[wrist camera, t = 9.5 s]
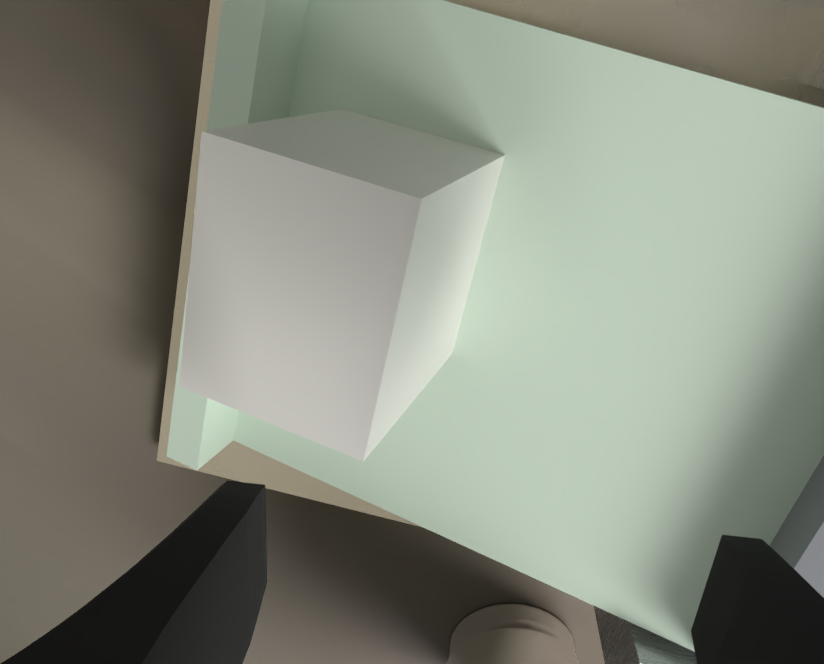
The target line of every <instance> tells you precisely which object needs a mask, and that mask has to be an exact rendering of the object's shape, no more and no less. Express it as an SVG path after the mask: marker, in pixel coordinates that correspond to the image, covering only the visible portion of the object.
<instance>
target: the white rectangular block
mask: <svg viewBox="0 0 824 664" xmlns="http://www.w3.org/2000/svg"><path fill="white" fill-rule="evenodd" d="M504 157H505V155H503V154H499V153H496V152H492V151H489V150H485V149H482V148H478V147H475V146H471V145H468V144H464V143H461V142H457V141H454V140H450V139H447V138H443V137H440V136H436V135H433V134H429V133H426V132H422V131H419V130H415V129H412V128H408V127H405V126H401V125H397V124H394V123H390V122H387V121H383V120H380V119H376V118H373V117H369V116H366V115H362V114H359V113H355V112H352V111H348V110H345V109H338V110H332V111H326V112H320V113H313V114H307V115H301V116H294V117H288V118H282V119H275V120H269V121H263V122H256V123H250V124H244V125H237V126H231V127H225V128H218V129H212V130H206V131H202V133H201V145H200V156H199V168H198V179H197V191H196V202H195V214H194V225H193V237H192V248H191V260H190V271H189V283H188V294H187V306H186V317H185V329H184V340H183V352H182V363H181V375H180V387H182V388H184V389H187V390H189V391H192V392H194V393H197V394H199V395H202V396H204V397H207V398H209V399H211V400H214V401H216V402H219V403H221V404H224V405H226V406H229V407H231V408H233V409H236V410H238V411H241V412H243V413H246V414H248V415H251V416H253V417H256V418H258V419H260V420H263V421H265V422H268V423H270V424H273V425H275V426H278V427H280V428H282V429H285V430H287V431H290V432H292V433H295V434H297V435H300V436H302V437H305V438H307V439H309V440H312V441H314V442H317V443H319V444H322V445H324V446H327V447H329V448H331V449H334V450H336V451H339V452H341V453H344V454H346V455H349V456H351V457H353V458H356V459H358V460H361V461H363V462H364V460H365V459H366V458H367V457H368V456H369V454H370V453H371V452H372V451H373V449H374V448H375V447H376V446H377V445H378V443H379V442H380V441H381V440H382V438H383V437H384V436H385V435H386V434H387V432H388V431H389V430H390V429H391V428H392V426H393V425H394V424H395V423H396V421H397V420H398V419H399V418H400V417H401V415H402V414H403V413H404V412H405V411H406V409H407V408H408V407H409V406H410V404H411V403H412V402H413V401H414V400H415V398H416V397H417V396H418V395H419V394H420V392H421V391H422V390H423V389H424V387H425V386H426V385H427V384H428V383H429V381H430V380H431V379H432V378H433V376H434V375H435V374H436V373H437V372H438V370H439V369H440V368H441V367H442V366H443V364H444V363H445V362H446V361H447V359H448V358H449V357H450V356H451V355H452V353H453V350H454V346H455V342H456V339H457V335H458V331H459V327H460V323H461V320H462V316H463V312H464V308H465V304H466V301H467V297H468V293H469V289H470V285H471V282H472V278H473V274H474V270H475V267H476V263H477V259H478V255H479V251H480V248H481V244H482V240H483V236H484V232H485V229H486V225H487V221H488V217H489V213H490V210H491V206H492V202H493V198H494V195H495V191H496V187H497V183H498V179H499V176H500V172H501V168H502V164H503V160H504Z"/></svg>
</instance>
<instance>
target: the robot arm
mask: <svg viewBox="0 0 824 664" xmlns="http://www.w3.org/2000/svg"><path fill="white" fill-rule="evenodd" d="M266 583H267V562H266V495H265V485H263V484H254V483H244V482H235V481H227V482H226V483H224V484H223V485H222V486H220V487H219V488H218V489H217V490H216V491H215V492H214V493H213V494H212V495H211V496H210V497H209V498H208V499H207V500H206V501H205V502H204V503H203V504H202V505H201V506H199V507H198V508H197V509H196V510H195V511H194V512H193V513H192V514H191V515H190V516H189V517H188V518H187V519H186V520H185V521H184V522H182V523H181V524H180V525H179V526H178V527H177V528H176V529H175V530H174V531H173V532H172V533H171V534H170V535H168V536H167V537H166V538H165V539H164V540H163V541H162V542H161V543H159V544H158V545H157V546H156V547H155V548H154V549H153V550H151V551H150V552H149V553H148V554H147V555H146V556H145V557H144V558H142V559H141V560H140V561H139V562H138V563H137V564H136V565H134V566H133V567H132V568H131V569H130V570H128V571H127V572H126V573H125V574H124V575H122V576H121V577H120V578H119V579H117V580H116V581H115V582H114V583H112V584H111V585H110V586H109V587H107V588H106V589H105V590H104V591H102V592H101V593H100V594H99V595H97V596H96V597H95V598H94V599H92V600H91V601H90V602H89V603H87V604H86V605H85V606H83V607H82V608H81V609H79V610H78V611H77V612H75V613H74V614H73V615H71V616H70V617H69V618H67V619H66V620H65V621H63V622H62V623H60V624H59V625H58V626H56V627H55V628H53V629H52V630H51V631H49V632H48V633H46V634H45V635H43V636H42V637H41V638H39V639H38V640H36V641H35V642H33V643H32V644H30V645H29V646H27V647H26V648H24V649H23V650H21V651H20V652H18V653H17V654H15V655H14V656H12V657H11V658H9V659H7V660H6V661H4V662H2V663H1V664H242V663H243V660H244V658H245V655H246V653H247V650H248V648H249V645H250V642H251V639H252V635H253V632H254V628H255V625H256V621H257V617H258V614H259V610H260V606H261V602H262V599H263V595H264V591H265V587H266ZM691 634H692V639H693V645H694V650H695V655H696V660H697V664H824V598H823V597H822V596H821V595H820V594H819V593H818V592H817V591H816V590H815V589H814V588H813V587H812V586H811V585H810V584H809V583H808V582H807V581H806V580H805V579H804V578H803V577H802V576H801V575H800V574H799V573H798V572H797V571H796V570H795V569H794V568H792V567H791V566H790V565H789V564H788V563H787V562H786V561H785V560H784V559H783V558H782V557H781V556H780V555H779V554H778V553H777V552H776V551H775V550H774V549H773V548H771V547H770V546H769V545H768V544H767V543H766V542H765V541H764V540H762V539H758V538H748V537H739V536H730V535H722V536H721V539H720V542H719V546H718V549H717V552H716V555H715V558H714V561H713V564H712V567H711V570H710V573H709V576H708V580H707V583H706V586H705V589H704V592H703V595H702V598H701V601H700V604H699V607H698V610H697V613H696V617H695V620H694V623H693V626H692V629H691Z"/></svg>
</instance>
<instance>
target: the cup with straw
mask: <svg viewBox="0 0 824 664" xmlns="http://www.w3.org/2000/svg"><path fill="white" fill-rule="evenodd" d="M449 652H450V657H449V659H448V661H447V664H580V662H579V660H578V658H577V657H576V656H575V643H574V640H573V638H572V635H571V633H570V632H569V630H568V629H567V627H566V626H565V625H564V624H563V623H562V622H561V621H560V620H559V619H558V618H556V617H555V616H553V615H552V614H550V613H548V612H546V611H544V610H541V609H539V608H536V607H532V606H528V605H523V604H498V605H493V606H488V607H485V608H483V609H480V610H477V611H475V612H473V613H472V614H470V615H469V616H467V617H466V618H465V619H463V620H462V621H461V622H460V623H459V624H458V626H457V627H456V628H455V630H454V631H453V634H452V636H451V639H450V647H449Z"/></svg>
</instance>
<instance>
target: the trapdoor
mask: <svg viewBox="0 0 824 664" xmlns="http://www.w3.org/2000/svg"><path fill="white" fill-rule="evenodd" d="M338 109H345V110H348V111H352V112H355V113H359V114H362V115H366V116H369V117H373V118H376V119H380V120H383V121H387V122H390V123H394V124H397V125H401V126H405V127H408V128H412V129H415V130H419V131H422V132H426V133H429V134H433V135H436V136H440V137H443V138H447V139H450V140H454V141H457V142H461V143H464V144H468V145H471V146H475V147H478V148H482V149H485V150H489V151H492V152H496V153H499V154H503V155H505V157H504V160H503V164H502V168H501V172H500V176H499V179H498V183H497V187H496V191H495V195H494V198H493V202H492V206H491V210H490V213H489V217H488V221H487V225H486V229H485V232H484V236H483V240H482V244H481V248H480V251H479V255H478V259H477V263H476V267H475V270H474V274H473V278H472V282H471V285H470V289H469V293H468V297H467V301H466V304H465V308H464V312H463V316H462V320H461V323H460V327H459V331H458V335H457V339H456V342H455V346H454V350H453V353H452V355H451V356H450V357H449V358H448V359H447V361H446V362H445V363H444V364H443V366H442V367H441V368H440V369H439V370H438V372H437V373H436V374H435V375H434V376H433V378H432V379H431V380H430V381H429V383H428V384H427V385H426V386H425V387H424V389H423V390H422V391H421V392H420V394H419V395H418V396H417V397H416V398H415V400H414V401H413V402H412V403H411V404H410V406H409V407H408V408H407V409H406V411H405V412H404V413H403V414H402V415H401V417H400V418H399V419H398V420H397V421H396V423H395V424H394V425H393V426H392V428H391V429H390V430H389V431H388V432H387V434H386V435H385V436H384V437H383V438H382V440H381V441H380V442H379V443H378V445H377V446H376V447H375V448H374V449H373V451H372V452H371V453H370V454H369V456H368V457H367V458H366V459H365V460H364V462H363V461H361V460H358V459H356V458H353V457H351V456H349V455H346V454H344V453H341V452H339V451H336V450H334V449H331V448H329V447H327V446H324V445H322V444H319V443H317V442H314V441H312V440H309V439H307V438H305V437H302V436H300V435H297V434H295V433H292V432H290V431H287V430H285V429H282V428H280V427H278V426H275V425H273V424H270V423H268V422H265V421H263V420H260V419H258V418H256V417H253V416H251V415H248V414H246V413H243V412H241V411H238V410H236V409H233V408H231V407H229V406H226V405H224V404H221V403H219V402H216V401H214V400H211V399H209V398H207V397H204V396H202V395H199V394H197V393H194V392H192V391H189V390H187V389H184V388H182V387H180V375H181V363H182V352H183V340H184V329H185V317H186V306H187V294H188V285H187V293H186V301H185V310H184V318H183V326H182V334H181V342H180V350H179V358H178V366H177V375H176V383H175V391H174V399H173V407H172V415H171V423H170V431H169V440H168V448H167V457H169V458H171V459H173V460H175V461H177V462H179V463H182V464H184V465H186V466H188V467H190V468H192V469H194V470H196V471H197V470H198V469H199V468H201V467H202V466H203V465H204V464H205V463H207V462H208V461H209V460H210V459H211V458H213V457H214V456H215V455H216V454H218V453H219V452H220V451H221V450H222V449H224V448H225V447H226V446H227V445H228V444H230V443H231V442H232V441H233V440H234V441H236V442H238V443H240V444H242V445H245V446H247V447H249V448H251V449H253V450H256V451H258V452H260V453H262V454H264V455H266V456H269V457H271V458H273V459H275V460H277V461H280V462H282V463H284V464H286V465H288V466H290V467H293V468H295V469H297V470H299V471H301V472H304V473H306V474H308V475H310V476H312V477H314V478H317V479H319V480H321V481H323V482H325V483H328V484H330V485H332V486H334V487H336V488H338V489H341V490H343V491H345V492H347V493H349V494H352V495H354V496H356V497H358V498H360V499H362V500H365V501H367V502H369V503H371V504H373V505H376V506H378V507H380V508H382V509H384V510H386V511H389V512H391V513H393V514H395V515H397V516H400V517H402V518H404V519H406V520H408V521H410V522H413V523H415V524H417V525H419V526H421V527H424V528H426V529H428V530H430V531H432V532H434V533H437V534H439V535H441V536H443V537H445V538H448V539H450V540H452V541H454V542H456V543H458V544H461V545H463V546H465V547H467V548H469V549H472V550H474V551H476V552H478V553H480V554H482V555H485V556H487V557H489V558H491V559H493V560H496V561H498V562H500V563H502V564H504V565H506V566H509V567H511V568H513V569H515V570H517V571H519V572H522V573H524V574H526V575H528V576H530V577H533V578H535V579H537V580H539V581H541V582H543V583H546V584H548V585H550V586H552V587H554V588H557V589H559V590H561V591H563V592H565V593H567V594H570V595H572V596H574V597H576V598H578V599H581V600H583V601H585V602H587V603H589V604H591V605H594V606H596V607H598V608H600V609H602V610H605V611H607V612H609V613H611V614H613V615H615V616H618V617H620V618H622V619H624V620H626V621H629V622H631V623H633V624H635V625H637V626H639V627H642V628H644V629H646V630H648V631H650V632H653V633H655V634H657V635H659V636H661V637H663V638H666V639H668V640H670V641H672V642H674V643H677V644H679V645H681V646H683V647H685V648H687V649H690V650H692V651H694V652H695V650H694V645H693V639H692V634H691V629H692V626H693V623H694V620H695V617H696V613H697V610H698V607H699V604H700V601H701V598H702V595H703V592H704V589H705V586H706V583H707V580H708V576H709V573H710V570H711V567H712V564H713V561H714V558H715V555H716V552H717V549H718V546H719V542H720V539H721V536H722V535H730V536H739V537H748V538H758V539H762V540H764V541H765V542H766V543H767V544H768V545H769V546H770V547H771V548H773V549H774V550H775V551H776V552H777V553H778V554H779V555H780V556H781V557H782V558H783V559H784V560H785V561H786V562H787V563H788V564H789V565H790V566H791V567H792V568H794V569H795V570H796V571H797V572H798V573H799V574H800V575H801V576H802V577H803V578H804V579H805V580H806V581H807V582H808V583H809V584H810V585H811V586H812V587H813V588H814V589H815V590H816V591H817V592H818V593H819V594H820V595H821V596H822V597H823V598H824V107H821V106H817V105H814V104H810V103H807V102H803V101H800V100H796V99H793V98H789V97H786V96H782V95H779V94H775V93H772V92H768V91H764V90H761V89H757V88H754V87H750V86H747V85H743V84H740V83H736V82H733V81H729V80H726V79H722V78H719V77H715V76H711V75H708V74H704V73H701V72H697V71H694V70H690V69H687V68H683V67H680V66H676V65H673V64H669V63H666V62H662V61H659V60H655V59H651V58H648V57H644V56H641V55H637V54H634V53H630V52H627V51H623V50H620V49H616V48H613V47H609V46H606V45H602V44H598V43H595V42H591V41H588V40H584V39H581V38H577V37H574V36H570V35H567V34H563V33H560V32H556V31H553V30H549V29H545V28H542V27H538V26H535V25H531V24H528V23H524V22H521V21H517V20H514V19H510V18H507V17H503V16H500V15H496V14H493V13H489V12H485V11H482V10H478V9H475V8H471V7H468V6H464V5H461V4H457V3H454V2H450V1H447V0H223V1H222V9H221V17H220V25H219V33H218V41H217V50H216V58H215V66H214V74H213V82H212V90H211V98H210V106H209V115H208V123H207V130H212V129H218V128H225V127H231V126H237V125H244V124H250V123H256V122H263V121H269V120H275V119H282V118H288V117H294V116H301V115H307V114H313V113H320V112H326V111H332V110H338ZM189 271H190V269H189ZM188 283H189V277H188Z"/></svg>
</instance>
